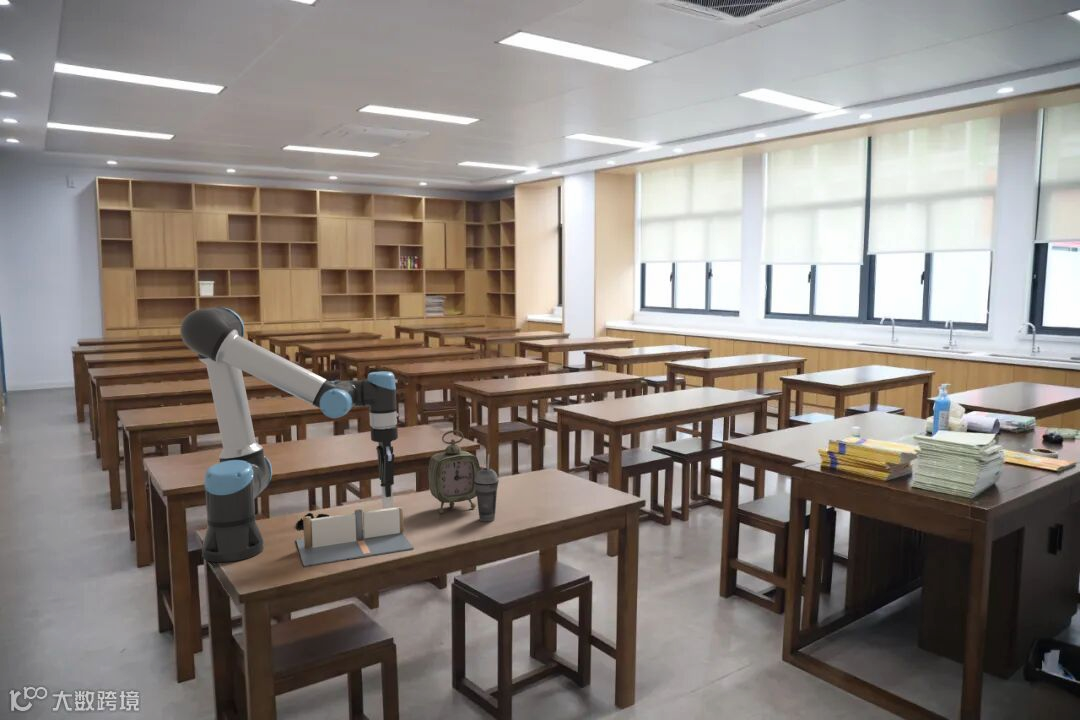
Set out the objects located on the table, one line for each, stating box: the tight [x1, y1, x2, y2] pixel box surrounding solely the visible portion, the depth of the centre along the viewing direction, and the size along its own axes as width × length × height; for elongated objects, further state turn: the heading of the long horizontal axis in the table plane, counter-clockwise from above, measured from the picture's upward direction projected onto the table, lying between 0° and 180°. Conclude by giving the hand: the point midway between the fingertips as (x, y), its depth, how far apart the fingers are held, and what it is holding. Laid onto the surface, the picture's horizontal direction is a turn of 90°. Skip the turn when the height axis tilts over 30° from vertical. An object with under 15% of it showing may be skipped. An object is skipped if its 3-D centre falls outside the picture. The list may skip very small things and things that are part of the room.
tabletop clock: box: [427, 430, 481, 514], centre depth 226 cm, size 14×9×25 cm, turn 117°
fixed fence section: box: [302, 509, 363, 548], centre depth 197 cm, size 16×2×9 cm, turn 114°
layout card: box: [295, 531, 414, 567], centre depth 197 cm, size 28×20×1 cm
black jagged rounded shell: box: [296, 512, 330, 532], centre depth 214 cm, size 12×10×5 cm
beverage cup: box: [474, 453, 500, 522], centre depth 216 cm, size 7×7×20 cm
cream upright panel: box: [362, 506, 405, 538], centre depth 203 cm, size 11×2×7 cm, turn 114°
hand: (387, 506), depth 209 cm, fingers closed
